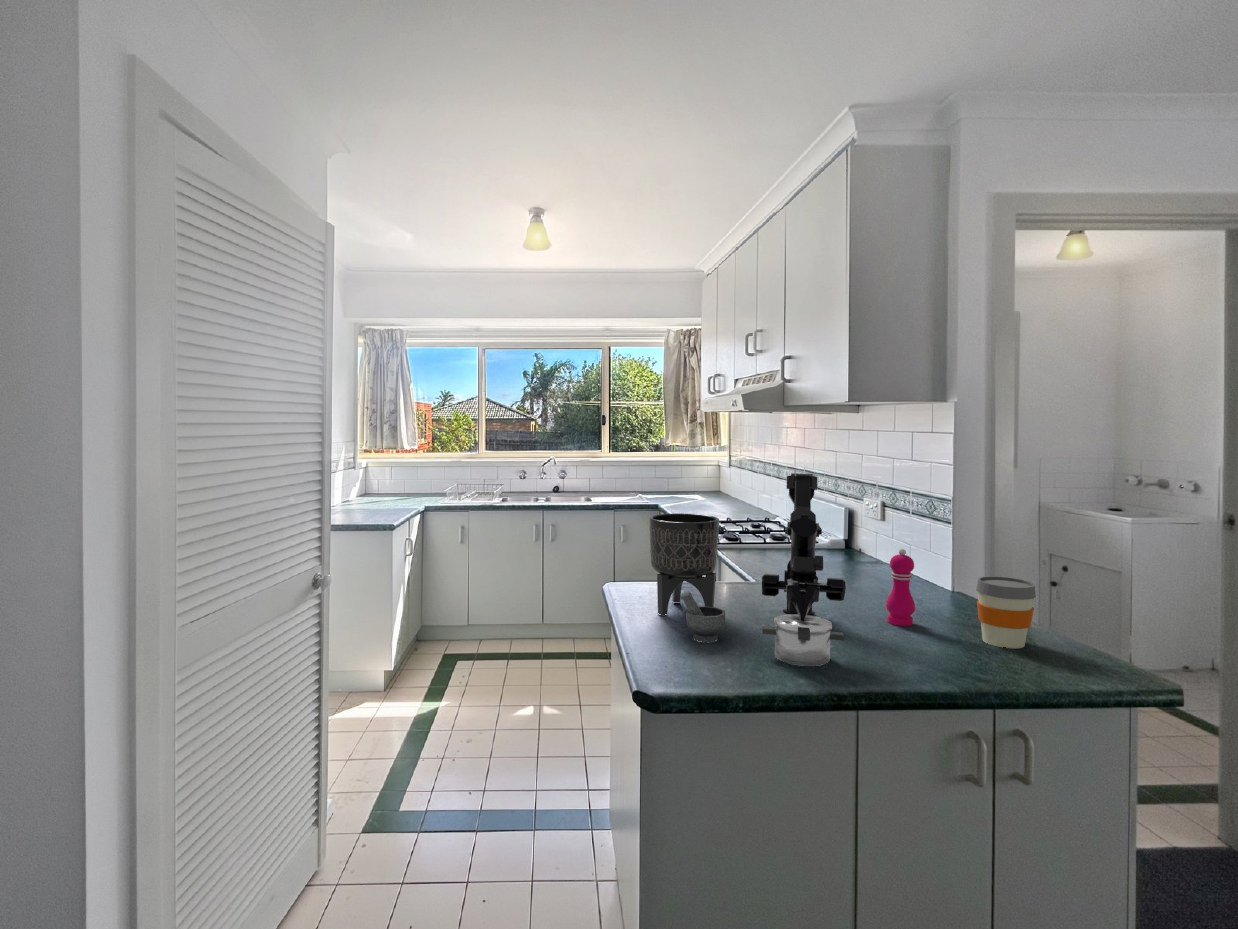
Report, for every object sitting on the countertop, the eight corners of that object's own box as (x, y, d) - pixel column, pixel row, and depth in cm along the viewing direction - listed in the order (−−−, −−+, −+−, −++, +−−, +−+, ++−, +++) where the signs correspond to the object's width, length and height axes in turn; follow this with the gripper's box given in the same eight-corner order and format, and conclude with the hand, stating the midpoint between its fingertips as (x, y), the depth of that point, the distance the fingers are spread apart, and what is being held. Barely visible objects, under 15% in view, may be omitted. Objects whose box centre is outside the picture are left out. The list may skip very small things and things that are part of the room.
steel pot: (762, 645, 158) (763, 616, 158) (840, 652, 154) (841, 622, 154) (761, 663, 147) (761, 631, 146) (845, 670, 142) (846, 638, 142)
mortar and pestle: (717, 632, 168) (718, 585, 168) (731, 644, 159) (731, 594, 159) (675, 634, 166) (675, 587, 166) (685, 646, 157) (686, 596, 156)
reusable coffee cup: (962, 637, 166) (964, 578, 165) (997, 632, 171) (999, 574, 170) (1009, 653, 154) (1012, 590, 154) (1045, 647, 159) (1048, 585, 158)
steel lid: (774, 617, 158) (774, 611, 158) (830, 621, 155) (830, 615, 155) (773, 637, 141) (773, 631, 141) (835, 643, 138) (835, 636, 138)
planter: (724, 605, 194) (726, 515, 192) (708, 624, 175) (710, 524, 174) (660, 598, 201) (661, 511, 199) (638, 615, 183) (639, 520, 181)
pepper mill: (917, 627, 174) (920, 552, 173) (888, 625, 175) (890, 550, 174) (911, 620, 181) (913, 547, 180) (883, 618, 182) (885, 546, 181)
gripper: (763, 540, 157) (760, 597, 147) (846, 544, 153) (849, 604, 142) (763, 566, 165) (760, 622, 155) (842, 571, 161) (844, 629, 151)
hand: (802, 619), depth 151 cm, fingers closed
